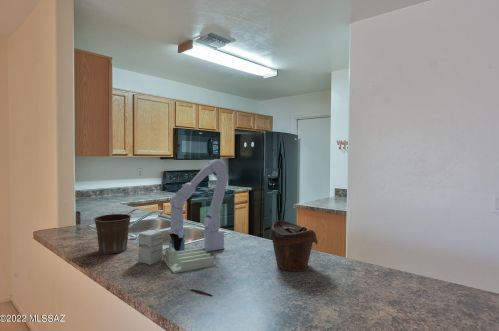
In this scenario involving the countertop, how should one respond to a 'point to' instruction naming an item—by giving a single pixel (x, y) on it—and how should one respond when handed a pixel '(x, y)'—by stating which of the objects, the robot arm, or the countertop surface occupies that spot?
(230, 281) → the countertop surface
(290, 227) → the brown covered basket
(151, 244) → the supplement box
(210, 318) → the countertop surface
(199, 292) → the fork
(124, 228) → the plant pot
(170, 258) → the dish rack
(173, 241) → the slate blue tile
